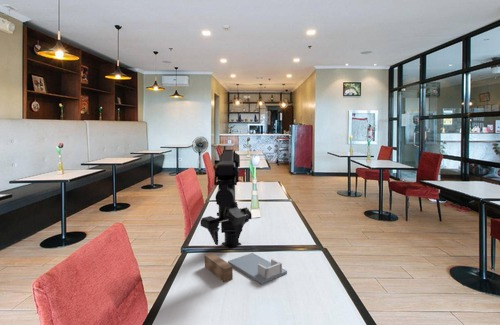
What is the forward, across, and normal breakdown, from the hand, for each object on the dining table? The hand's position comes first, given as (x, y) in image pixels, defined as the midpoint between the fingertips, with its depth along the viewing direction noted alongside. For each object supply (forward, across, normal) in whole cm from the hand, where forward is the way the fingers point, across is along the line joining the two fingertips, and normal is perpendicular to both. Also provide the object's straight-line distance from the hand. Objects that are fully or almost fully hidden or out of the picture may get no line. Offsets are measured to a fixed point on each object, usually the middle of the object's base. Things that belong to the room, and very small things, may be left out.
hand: (227, 241), depth 112 cm
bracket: (+12, +10, -5) cm, 16 cm away
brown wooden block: (+12, -3, +2) cm, 12 cm away
